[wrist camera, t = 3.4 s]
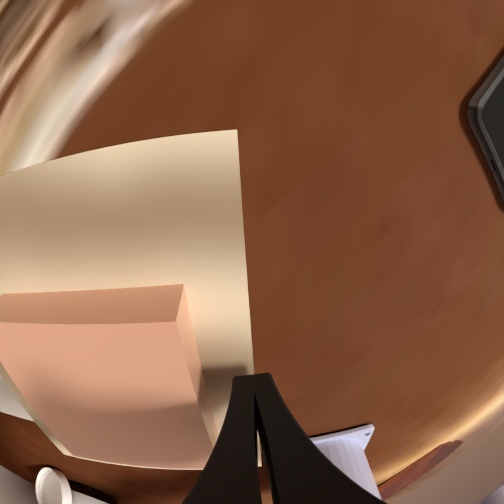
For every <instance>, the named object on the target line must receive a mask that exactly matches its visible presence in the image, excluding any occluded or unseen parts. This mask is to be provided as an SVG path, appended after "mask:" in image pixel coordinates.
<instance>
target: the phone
mask: <svg viewBox="0 0 504 504" xmlns="http://www.w3.org/2000/svg"><path fill="white" fill-rule="evenodd" d="M468 119H469V124H470V126H471V129H472V131H473V132H474V134H475V136H476V138H477V140H478V142H479V144H480V146H481V148H482V151H483V153H484V155H485V157H486V159H487V161H488V164H489V166H490V168H491V170H492V173H493V175H494V178H495V180H496V183H497V185H498V188H499V190H500V193H501V196H502V198H503V201H504V56H503V57H502V58H501V60H500V61H499V62H498V64H497V65H496V67H495V68H494V69H493V71H492V72H491V73H490V75H489V76H488V77H487V79H486V80H485V81H484V83H483V84H482V85H481V86H480V88H479V89H478V90H477V92H476V93H475V94H474V95H473V97H472V98H471V100H470V102H469V105H468ZM479 138H480V139H481V140H480V139H479ZM490 159H491V160H492V162H493V164H494V167H495V169H496V171H497V172H496V171H495V170H494V168H493V166H492V163H491V161H490Z"/></svg>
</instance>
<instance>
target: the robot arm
mask: <svg viewBox="0 0 504 504" xmlns="http://www.w3.org/2000/svg"><path fill="white" fill-rule="evenodd" d="M257 431H258V435H259V439H260V443H261V448H262V452H263V456H264V460H265V464H266V468H267V472H268V476H269V481H270V486H271V493H272V500H273V504H387V503H386V502H384V501H382V499H381V496H380V494H379V491H378V488H377V485H376V483H375V480H374V477H373V475H372V472H371V469H370V467H369V464H368V461H367V459H366V456H365V453H364V449H365V447H366V445H367V443H368V441H369V439H370V437H371V435H372V433H373V431H374V426H373V425H372V424H369V425H365V426H362V427H358V428H354V429H350V430H346V431H342V432H337V433H333V434H328V435H324V436H319V437H313V438H309V437H308V436H307V435H306V433H305V432H304V431H303V429H302V428H301V427H300V425H299V424H298V423H297V421H296V420H295V418H294V417H293V415H292V414H291V412H290V411H289V409H288V407H287V406H286V404H285V402H284V401H283V399H282V397H281V395H280V393H279V391H278V389H277V387H276V385H275V383H274V380H273V378H272V375H271V374H270V373H262V374H253V375H242V376H235V377H234V378H232V390H231V396H230V400H229V405H228V409H227V412H226V415H225V419H224V422H223V425H222V428H221V431H220V433H219V436H218V439H217V441H216V444H215V446H214V448H213V451H212V453H211V455H210V457H209V459H208V461H207V463H206V465H205V467H204V469H203V471H202V473H201V474H200V476H199V478H198V480H197V481H196V483H195V485H194V486H193V488H192V489H191V491H190V492H189V494H188V495H187V497H186V498H185V499H184V501H183V502H182V504H262V500H261V493H260V485H259V478H258V441H257ZM476 504H504V483H503V484H502V485H501V486H499V487H498V488H497V489H495V490H494V491H493V492H491V493H490V494H489V495H487V496H486V497H485V498H484V499H482V500H481V501H479V502H478V503H476Z"/></svg>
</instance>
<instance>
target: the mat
mask: <svg viewBox="0 0 504 504" xmlns="http://www.w3.org/2000/svg"><path fill="white" fill-rule="evenodd" d="M0 412H3V413H6V414H10V415H13V416H16V417H20V418H23V419H27V420H31V421H34V420H33V419H32V418H31V416H30V415H29V414H28V413H27V411H26V410H25V409H24V408H23V406H22V405H21V404H20V402H19V401H18V400H17V398H16V397H15V395H14V394H13V393H12V391H11V390H10V388H9V387H8V385H7V384H6V383H5V381H4V380H3V378H2V376H1V375H0Z"/></svg>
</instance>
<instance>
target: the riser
mask: <svg viewBox="0 0 504 504" xmlns="http://www.w3.org/2000/svg"><path fill="white" fill-rule="evenodd" d="M175 284H184V287H185V292H186V298H187V303H188V308H189V313H190V318H191V323H192V327H193V332H194V337H195V341H196V346H197V350H198V355H199V359H200V363H201V368H202V372H203V376H204V380H205V384H206V388H207V392H208V396H209V400H210V404H211V408H212V411H213V415H214V419H215V422H216V426H217V429H218V433H220V431H221V428H222V425H223V422H224V419H225V415H226V412H227V409H228V405H229V400H230V396H231V390H232V378H234V377H235V376H242V375H253V374H254V365H253V352H252V339H251V325H250V312H249V298H248V285H247V271H246V257H245V243H244V228H243V214H242V199H241V184H240V169H239V154H238V138H237V130H224V131H213V132H203V133H193V134H185V135H177V136H169V137H162V138H155V139H149V140H143V141H137V142H131V143H126V144H120V145H115V146H110V147H105V148H100V149H96V150H91V151H87V152H83V153H78V154H74V155H70V156H66V157H63V158H59V159H55V160H51V161H48V162H44V163H41V164H37V165H34V166H31V167H27V168H24V169H21V170H18V171H15V172H12V173H9V174H6V175H3V176H0V297H1V296H2V295H3V294H9V293H38V292H61V291H81V290H99V289H116V288H132V287H147V286H161V285H175ZM0 375H1V376H2V378H3V380H4V381H5V383H6V384H7V385H8V387H9V388H10V390H11V391H12V393H13V394H14V395H15V397H16V398H17V400H18V401H19V402H20V404H21V405H22V406H23V408H24V409H25V410H26V411H27V413H28V414H29V415H30V416H31V418H32V419H33V420H34V421H35V423H36V424H37V425H38V426H39V427H40V429H41V430H42V431H43V432H44V433H45V434H46V435H47V437H48V438H49V439H50V440H51V441H52V442H53V443H54V444H55V445H56V446H57V448H58V449H59V450H60V451H61V452H62V453H63V454H64V455H68V456H73V455H72V454H71V453H70V452H69V451H68V450H67V449H66V448H65V447H64V446H63V444H62V443H61V442H60V441H59V440H58V439H57V438H56V437H55V436H54V434H53V433H52V432H51V431H50V430H49V429H48V427H47V426H46V425H45V424H44V422H43V421H42V420H41V419H40V418H39V416H38V415H37V414H36V412H35V411H34V410H33V409H32V407H31V406H30V405H29V403H28V402H27V400H26V399H25V398H24V396H23V395H22V394H21V392H20V391H19V389H18V388H17V386H16V385H15V383H14V382H13V380H12V379H11V377H10V376H9V374H8V373H7V371H6V369H5V368H4V366H3V365H2V363H1V361H0ZM257 441H258V467H259V466H262V464H261V452H260V440H259V435H258V431H257ZM73 457H77V456H73ZM77 458H82V457H77ZM82 459H87V458H82ZM87 460H92V459H87ZM92 461H98V460H92ZM98 462H104V461H98ZM104 463H110V464H117V465H125V464H118V463H111V462H104ZM125 466H134V465H125ZM134 467H144V468H157V469H178V470H203V469H181V468H158V467H145V466H134Z"/></svg>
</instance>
